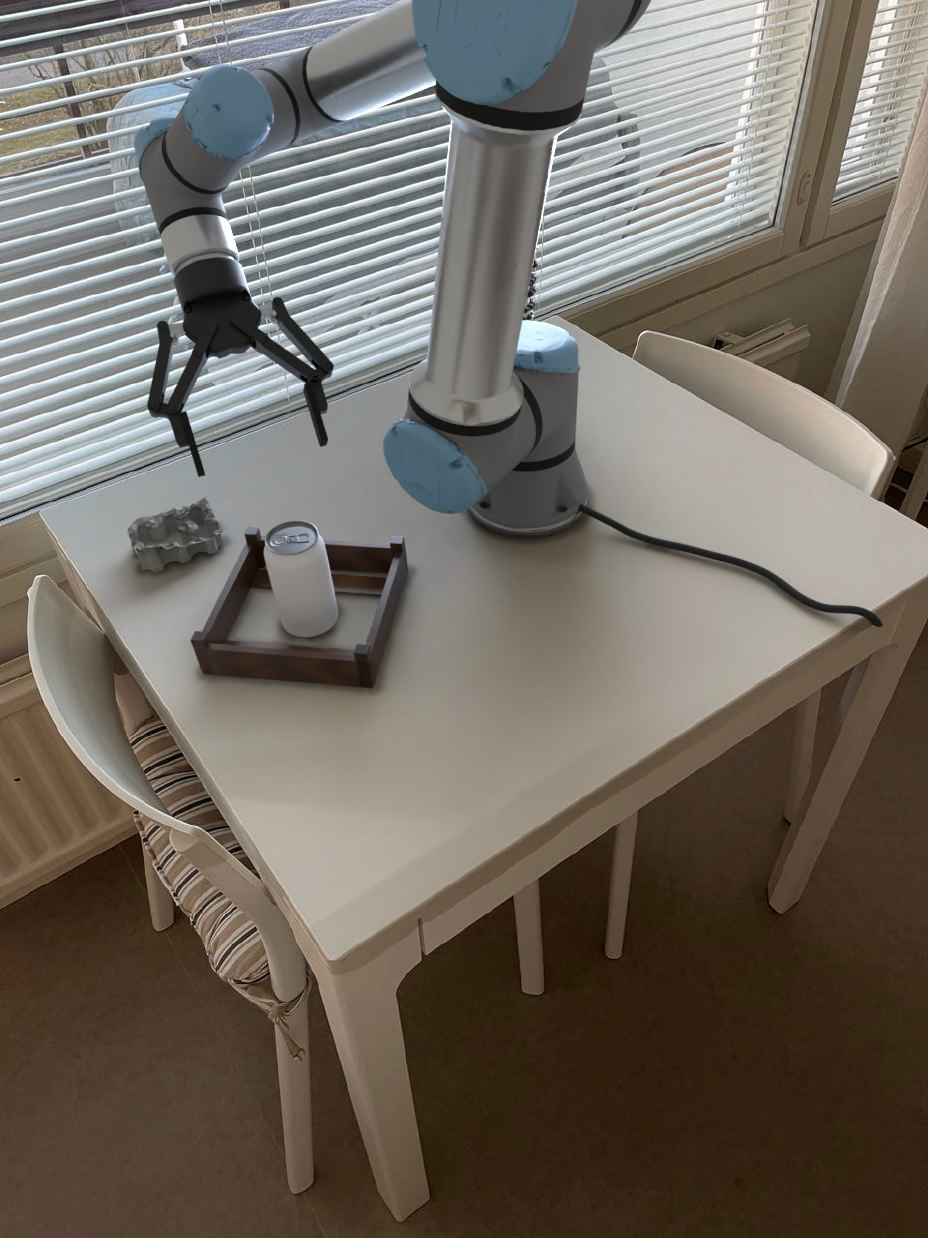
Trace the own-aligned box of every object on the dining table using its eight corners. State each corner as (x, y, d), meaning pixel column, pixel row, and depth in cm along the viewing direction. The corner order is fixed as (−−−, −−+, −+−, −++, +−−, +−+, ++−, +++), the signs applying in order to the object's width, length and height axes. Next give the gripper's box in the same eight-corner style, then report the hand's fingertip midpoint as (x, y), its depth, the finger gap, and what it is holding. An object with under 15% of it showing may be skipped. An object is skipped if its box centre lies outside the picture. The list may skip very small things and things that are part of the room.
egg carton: (142, 578, 112) (131, 552, 109) (131, 542, 117) (121, 516, 114) (228, 551, 115) (221, 525, 112) (215, 517, 120) (207, 492, 117)
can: (283, 602, 107) (262, 520, 99) (339, 597, 108) (323, 514, 99) (280, 642, 103) (257, 559, 94) (338, 637, 103) (321, 553, 95)
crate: (408, 570, 110) (404, 536, 107) (373, 688, 97) (366, 654, 94) (256, 560, 113) (247, 526, 110) (202, 674, 100) (190, 640, 96)
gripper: (316, 262, 108) (369, 439, 108) (95, 306, 102) (151, 493, 102) (320, 232, 100) (377, 422, 100) (82, 278, 95) (143, 479, 95)
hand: (263, 458), depth 101 cm, fingers open, 13 cm apart
